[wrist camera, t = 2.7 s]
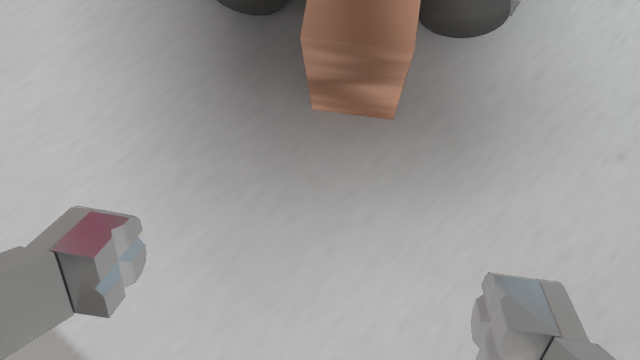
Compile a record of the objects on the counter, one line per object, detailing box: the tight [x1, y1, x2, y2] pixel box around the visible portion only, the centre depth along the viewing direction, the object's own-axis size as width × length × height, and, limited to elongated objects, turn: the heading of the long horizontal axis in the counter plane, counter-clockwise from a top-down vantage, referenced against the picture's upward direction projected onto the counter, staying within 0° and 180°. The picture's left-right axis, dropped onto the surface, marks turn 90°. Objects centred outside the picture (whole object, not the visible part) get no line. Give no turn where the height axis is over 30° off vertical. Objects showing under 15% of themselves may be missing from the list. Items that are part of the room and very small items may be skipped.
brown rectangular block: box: [300, 0, 421, 120], centre depth 23 cm, size 5×5×8 cm
